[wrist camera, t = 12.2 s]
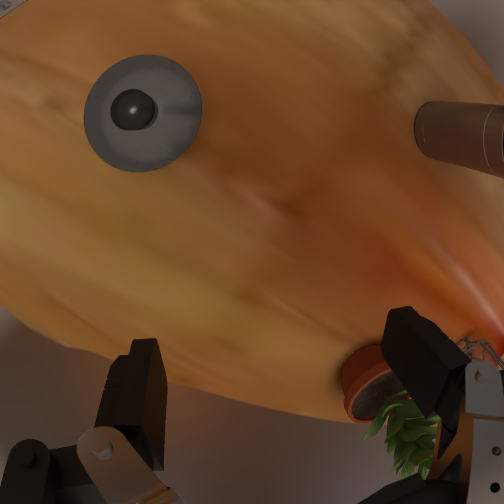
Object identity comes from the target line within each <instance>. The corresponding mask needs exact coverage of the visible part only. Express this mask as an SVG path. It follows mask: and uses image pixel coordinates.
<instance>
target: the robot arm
mask: <svg viewBox="0 0 504 504" xmlns="http://www.w3.org/2000/svg"><path fill="white" fill-rule="evenodd" d="M415 137H416V141H417V143H418V146H419V147H420V149H421V151H422V152H423V153H424V154H425V155H426V156H428V157H429V158H432V159H435V160H439V161H443V162H447V163H451V164H455V165H459V166H462V167H466V168H470V169H473V170H477V171H480V172H484V173H487V174H491V175H494V176H497V177H501V178H504V105H494V104H481V103H461V102H429V103H427V104H425V105H424V106H422V107H421V109H420V110H419V111H418V114H417V116H416V120H415ZM381 351H382V355H383V358H384V360H385V361H386V363H387V364H388V365H389V367H390V368H391V370H392V371H393V372H394V374H395V375H396V377H397V378H398V380H399V381H400V382H401V384H402V385H403V387H404V388H405V390H406V391H407V392H408V394H409V395H410V397H411V398H412V400H413V401H414V403H415V404H416V406H417V407H418V408H419V410H420V411H421V413H422V414H423V416H424V417H425V419H426V420H428V419H430V418H433V417H435V416H437V415H439V417H440V418H441V419H440V421H439V423H438V426H437V433H436V441H435V447H434V453H433V459H432V464H431V468H430V470H429V473H428V475H427V477H426V479H425V480H423V478H422V477H421V475H420V473H419V472H418V473H416V474H413V475H411V476H409V477H406V478H404V479H401V480H399V481H397V482H394V483H391V484H389V485H386V486H385V487H383V488H382V489H380V490H379V491H377V492H376V493H374V494H372V495H371V496H369V497H368V498H366V499H364V500H363V501H361V502H359V503H358V504H504V370H498V369H497V368H496V367H495V366H494V365H492V364H491V363H489V362H486V361H480V360H477V361H473V362H472V361H471V360H470V359H469V358H468V357H467V356H466V355H465V353H464V352H463V351H462V350H461V349H460V348H459V347H458V346H457V345H456V344H455V343H454V342H453V341H452V340H451V339H449V337H448V336H447V335H446V334H445V333H442V330H441V329H440V328H439V327H438V326H437V325H436V324H435V323H434V322H432V321H430V320H428V319H426V318H424V317H423V316H422V317H421V316H420V315H419V314H418V313H417V312H416V311H415V310H414V309H413V308H412V307H411V306H405V307H400V308H395V309H391V310H390V311H389V313H388V316H387V320H386V325H385V329H384V334H383V338H382V343H381ZM104 388H105V390H104V391H103V394H102V398H101V402H100V406H99V410H98V414H97V418H96V422H95V426H94V428H93V429H91V430H89V431H87V432H86V433H84V435H82V436H81V438H80V439H79V441H78V444H76V445H73V446H68V447H63V448H58V449H51V450H49V449H48V448H47V447H46V446H45V444H43V443H42V442H40V441H39V440H35V439H27V440H23V441H21V442H19V443H17V444H16V445H15V446H14V447H13V448H12V449H11V451H10V453H9V456H8V460H7V463H6V466H5V470H4V474H3V478H2V482H1V486H0V504H187V503H186V502H185V501H184V500H183V499H182V498H181V497H180V496H179V495H178V494H177V493H176V492H175V491H174V490H173V489H171V488H170V487H167V486H166V485H165V484H164V483H163V482H162V481H161V480H160V479H159V478H158V477H157V476H156V474H155V473H154V472H153V471H163V470H164V444H165V421H166V404H167V377H166V372H165V369H164V365H163V361H162V357H161V353H160V349H159V345H158V342H157V339H156V338H150V339H134V340H133V341H132V345H131V349H130V353H129V355H119V356H118V358H117V359H116V360H115V361H114V362H113V363H112V365H111V366H110V369H109V373H108V376H107V380H106V383H105V387H104Z"/></svg>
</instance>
